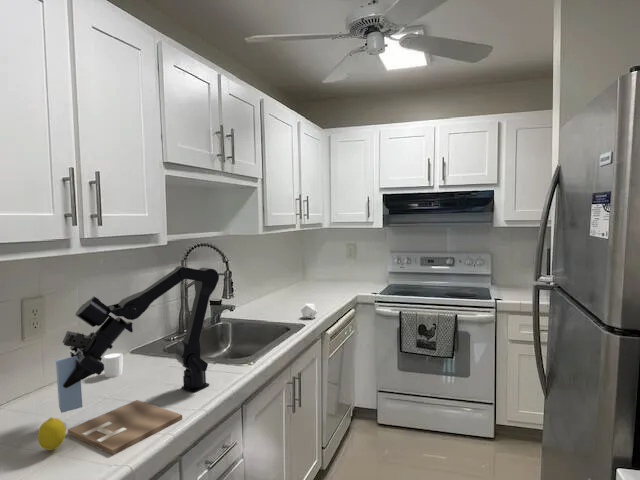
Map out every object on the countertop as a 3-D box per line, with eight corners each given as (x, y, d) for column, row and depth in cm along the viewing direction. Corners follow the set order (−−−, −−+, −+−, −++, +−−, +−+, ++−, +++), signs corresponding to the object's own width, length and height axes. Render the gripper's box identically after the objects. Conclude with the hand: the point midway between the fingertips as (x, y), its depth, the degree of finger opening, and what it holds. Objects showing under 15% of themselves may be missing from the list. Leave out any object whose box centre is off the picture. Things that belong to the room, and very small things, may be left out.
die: (306, 321, 222) (317, 307, 222) (295, 312, 226) (305, 298, 226) (312, 323, 229) (322, 309, 229) (301, 314, 233) (311, 300, 233)
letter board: (137, 403, 124) (137, 399, 124) (182, 418, 114) (182, 414, 113) (67, 433, 107) (67, 428, 107) (113, 455, 97) (112, 449, 97)
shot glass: (105, 379, 144) (104, 360, 144) (100, 374, 150) (99, 355, 149) (126, 374, 149) (125, 355, 149) (120, 369, 154) (119, 351, 154)
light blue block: (79, 400, 117) (76, 355, 116) (82, 407, 113) (79, 360, 112) (59, 406, 114) (55, 360, 113) (61, 412, 110) (57, 365, 109)
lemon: (71, 443, 102) (69, 412, 102) (57, 456, 97) (55, 423, 96) (48, 444, 102) (46, 413, 102) (33, 457, 97) (31, 424, 96)
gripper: (76, 314, 122) (33, 360, 116) (87, 326, 107) (39, 379, 101) (107, 335, 127) (68, 380, 121) (122, 349, 113) (78, 400, 106)
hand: (63, 384), depth 112 cm, fingers closed on light blue block, 5 cm apart
